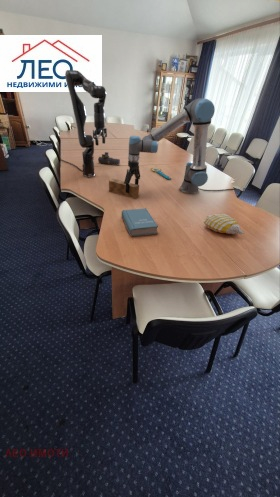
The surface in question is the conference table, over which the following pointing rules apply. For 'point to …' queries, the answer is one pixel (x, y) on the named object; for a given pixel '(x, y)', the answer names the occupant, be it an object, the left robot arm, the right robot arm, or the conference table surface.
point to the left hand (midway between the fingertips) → (100, 144)
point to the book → (139, 222)
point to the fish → (223, 224)
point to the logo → (160, 173)
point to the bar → (123, 188)
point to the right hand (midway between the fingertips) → (132, 189)
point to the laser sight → (108, 159)
